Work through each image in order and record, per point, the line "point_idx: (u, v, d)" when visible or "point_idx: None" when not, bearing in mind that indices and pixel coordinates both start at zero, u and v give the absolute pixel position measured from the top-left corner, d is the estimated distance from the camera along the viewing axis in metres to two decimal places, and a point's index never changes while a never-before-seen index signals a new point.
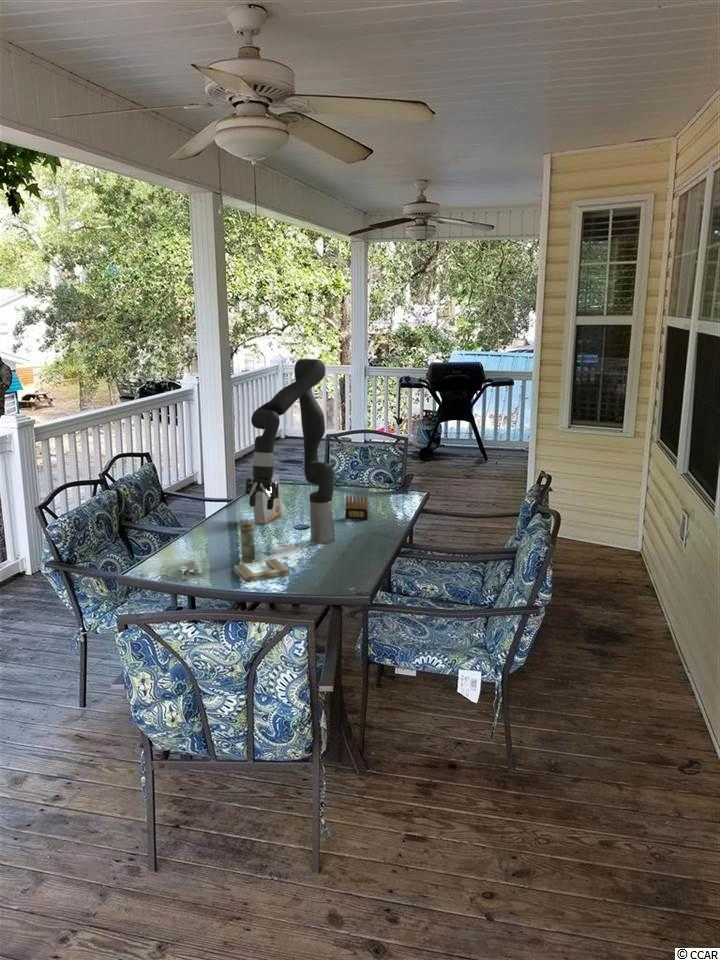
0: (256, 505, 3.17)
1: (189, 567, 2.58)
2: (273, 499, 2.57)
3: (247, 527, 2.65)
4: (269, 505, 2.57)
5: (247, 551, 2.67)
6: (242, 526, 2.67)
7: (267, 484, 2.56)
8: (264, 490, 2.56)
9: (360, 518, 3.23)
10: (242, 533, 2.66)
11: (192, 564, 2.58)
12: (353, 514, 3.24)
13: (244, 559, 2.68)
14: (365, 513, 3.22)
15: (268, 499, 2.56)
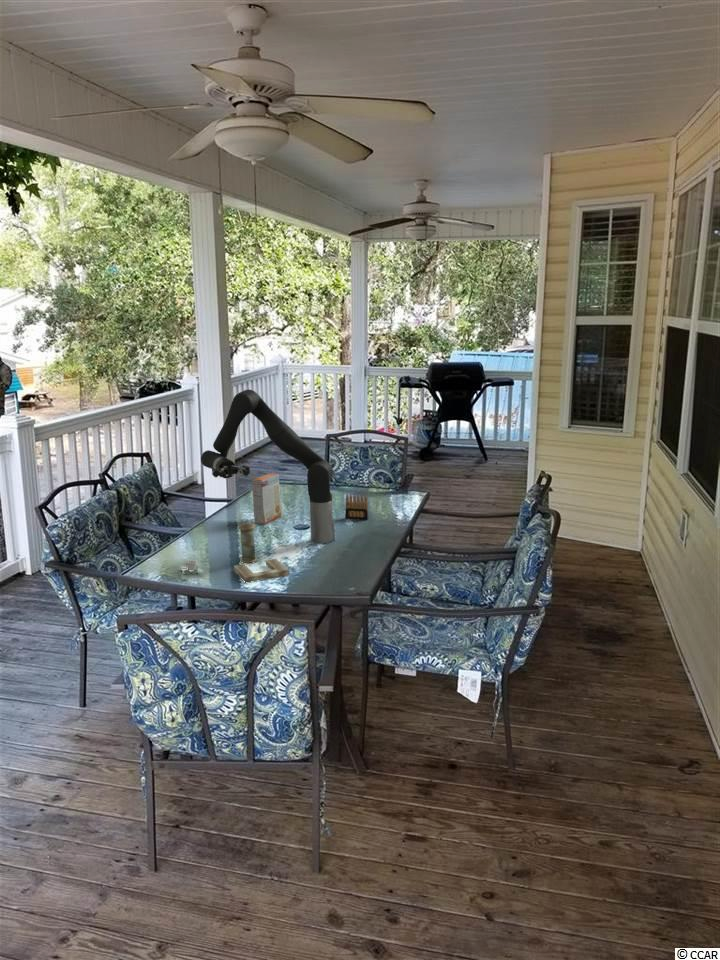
0: (256, 505, 3.17)
1: (189, 567, 2.58)
2: (219, 473, 2.73)
3: (247, 527, 2.65)
4: (223, 476, 2.72)
5: (247, 551, 2.67)
6: (242, 526, 2.67)
7: None
8: None
9: (360, 518, 3.23)
10: (242, 533, 2.66)
11: (192, 564, 2.58)
12: (353, 514, 3.24)
13: (244, 559, 2.68)
14: (365, 513, 3.22)
15: None
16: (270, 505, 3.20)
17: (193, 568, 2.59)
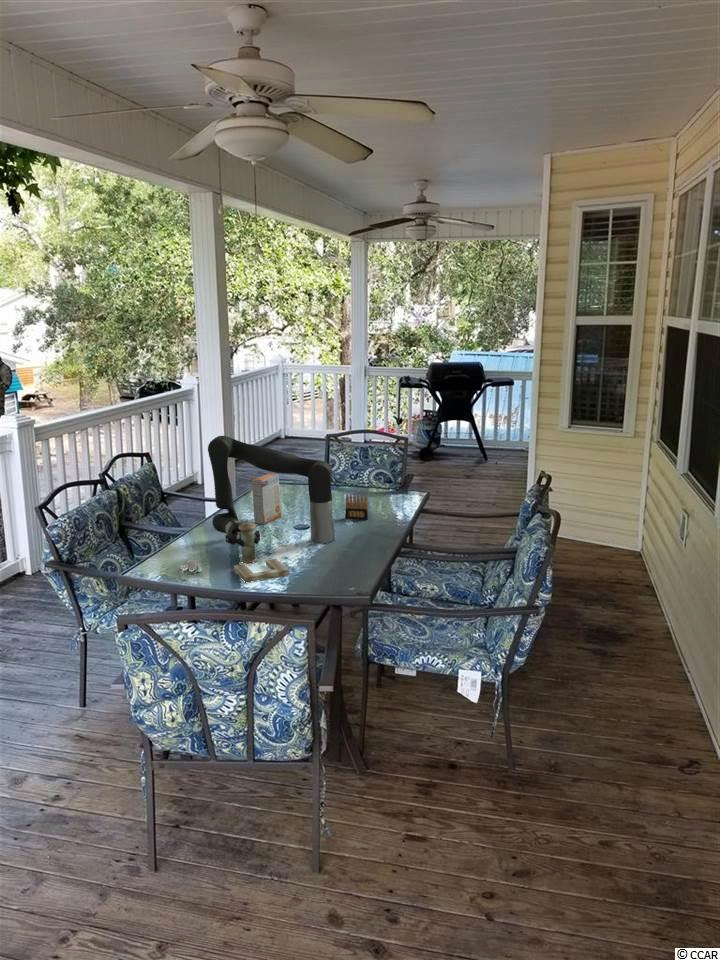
0: (256, 505, 3.17)
1: (189, 566, 2.59)
2: (237, 540, 2.67)
3: (247, 527, 2.65)
4: None
5: (247, 551, 2.67)
6: (242, 526, 2.66)
7: None
8: None
9: (360, 518, 3.23)
10: (242, 533, 2.65)
11: (192, 563, 2.59)
12: (353, 514, 3.24)
13: (244, 559, 2.68)
14: (365, 513, 3.22)
15: None
16: (270, 505, 3.20)
17: (193, 568, 2.59)
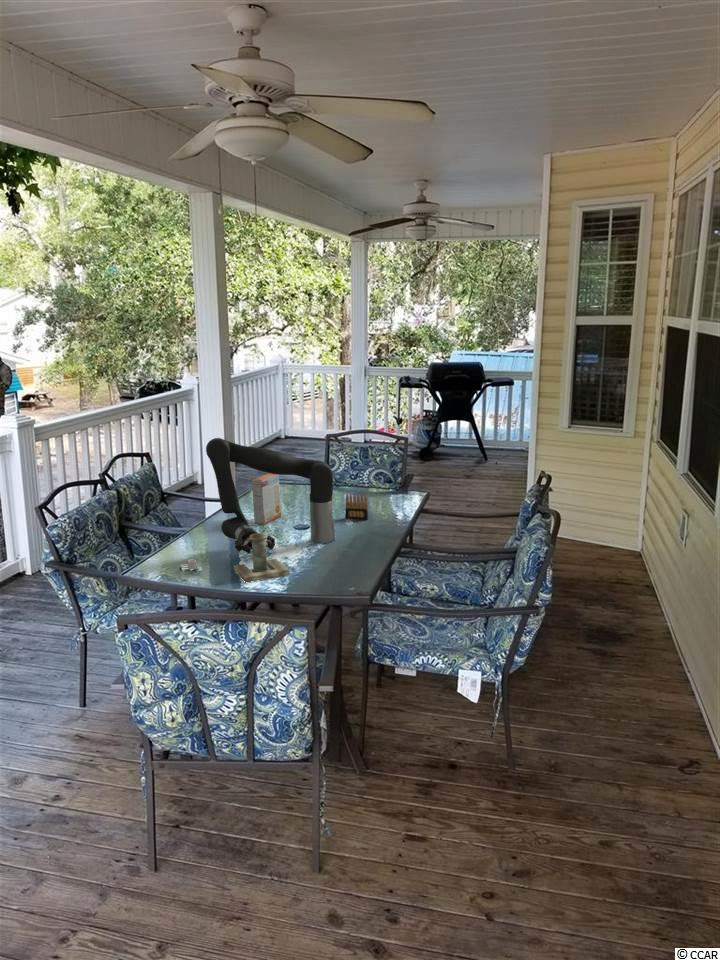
0: (256, 505, 3.17)
1: (190, 566, 2.60)
2: (243, 547, 2.55)
3: (259, 537, 2.53)
4: (247, 551, 2.54)
5: (259, 562, 2.54)
6: (253, 536, 2.54)
7: None
8: None
9: (360, 518, 3.23)
10: (254, 544, 2.53)
11: (193, 563, 2.59)
12: (353, 514, 3.24)
13: (256, 570, 2.56)
14: (365, 513, 3.22)
15: None
16: (270, 505, 3.20)
17: (193, 567, 2.60)
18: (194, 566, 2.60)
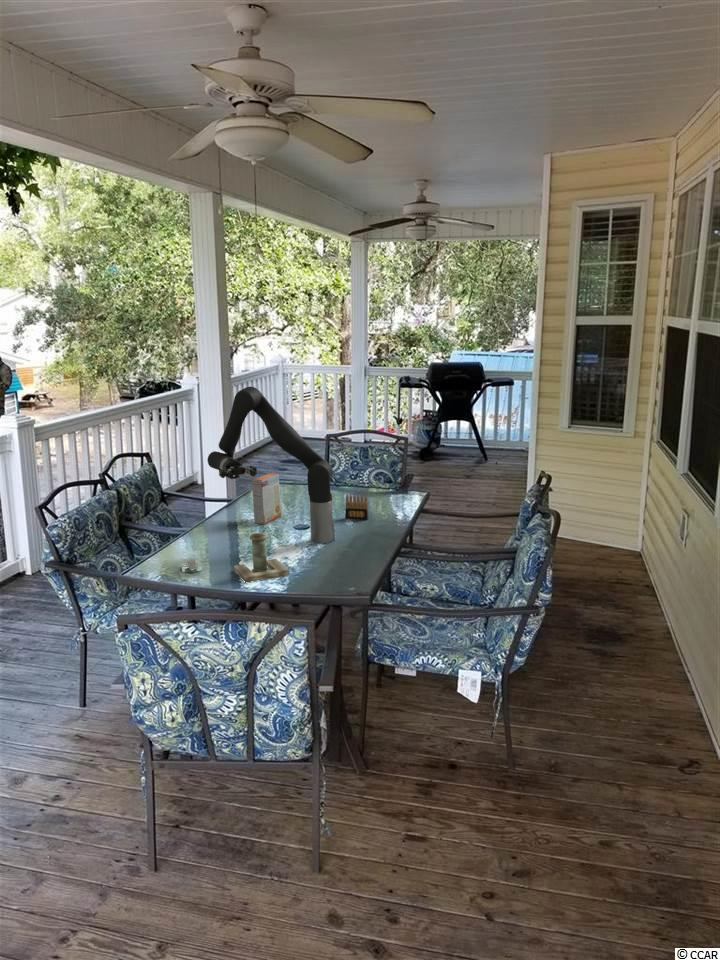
0: (256, 505, 3.17)
1: (190, 565, 2.60)
2: (226, 473, 2.72)
3: (259, 537, 2.53)
4: (230, 477, 2.70)
5: (259, 562, 2.54)
6: (253, 536, 2.54)
7: None
8: None
9: (360, 518, 3.23)
10: (254, 544, 2.53)
11: (193, 562, 2.60)
12: (353, 514, 3.24)
13: (256, 570, 2.56)
14: (365, 513, 3.22)
15: None
16: (270, 505, 3.20)
17: (194, 566, 2.60)
18: (194, 566, 2.60)
